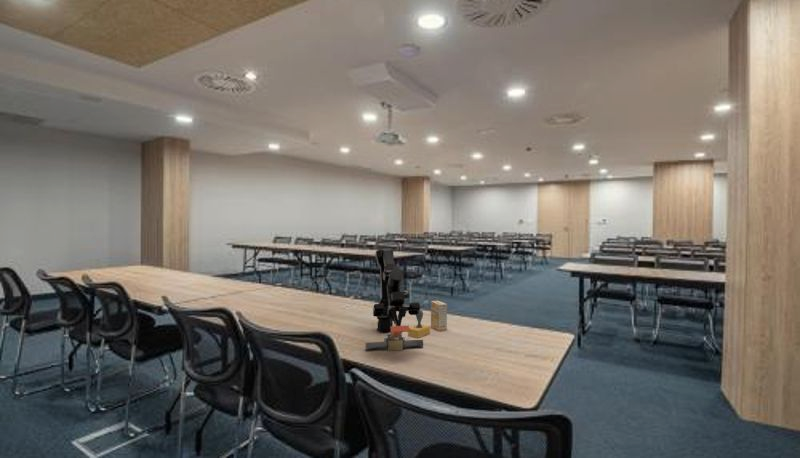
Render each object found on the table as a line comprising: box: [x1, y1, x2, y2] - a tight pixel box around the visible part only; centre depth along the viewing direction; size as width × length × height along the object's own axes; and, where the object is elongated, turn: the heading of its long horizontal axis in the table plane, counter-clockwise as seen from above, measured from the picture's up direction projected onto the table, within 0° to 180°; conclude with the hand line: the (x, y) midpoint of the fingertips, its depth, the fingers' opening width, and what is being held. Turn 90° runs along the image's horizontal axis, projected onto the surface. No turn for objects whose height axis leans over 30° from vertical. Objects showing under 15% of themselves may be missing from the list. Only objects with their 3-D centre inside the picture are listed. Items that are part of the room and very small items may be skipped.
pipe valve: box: [364, 333, 424, 352], centre depth 161 cm, size 5×24×6 cm, turn 101°
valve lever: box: [390, 325, 410, 338], centre depth 155 cm, size 2×7×15 cm
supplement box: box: [430, 300, 448, 332], centre depth 191 cm, size 8×5×13 cm, turn 25°
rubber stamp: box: [407, 309, 431, 339], centre depth 181 cm, size 10×6×12 cm, turn 140°
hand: (399, 328), depth 151 cm, fingers closed, pressing on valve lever
